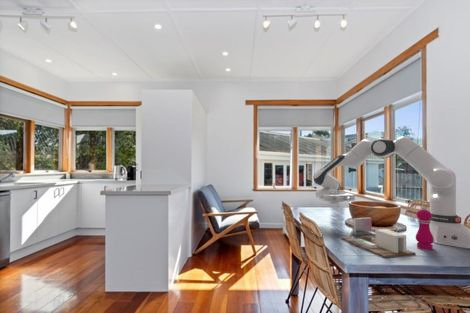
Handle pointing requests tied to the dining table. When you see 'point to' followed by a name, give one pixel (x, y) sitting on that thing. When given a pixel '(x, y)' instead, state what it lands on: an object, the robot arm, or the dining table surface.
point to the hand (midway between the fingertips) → (345, 199)
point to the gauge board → (378, 248)
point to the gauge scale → (364, 242)
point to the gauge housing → (391, 240)
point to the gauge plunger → (363, 227)
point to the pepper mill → (424, 230)
